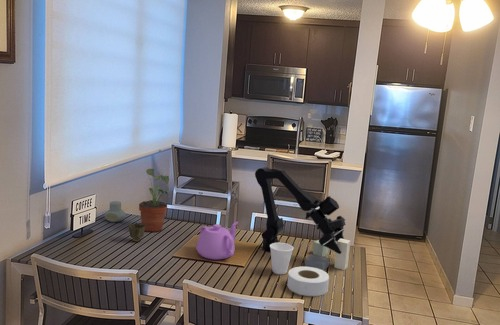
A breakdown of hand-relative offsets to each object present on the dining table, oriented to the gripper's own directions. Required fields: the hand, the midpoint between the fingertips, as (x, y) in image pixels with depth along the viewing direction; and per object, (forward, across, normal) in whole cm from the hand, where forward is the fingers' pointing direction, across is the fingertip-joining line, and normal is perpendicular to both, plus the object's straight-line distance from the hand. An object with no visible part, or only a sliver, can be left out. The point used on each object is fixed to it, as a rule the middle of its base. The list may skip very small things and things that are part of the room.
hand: (343, 250), depth 193 cm
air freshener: (-80, -13, +90) cm, 121 cm away
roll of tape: (+2, -28, +10) cm, 30 cm away
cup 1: (-59, -30, +69) cm, 95 cm away
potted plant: (-63, -11, +73) cm, 96 cm away
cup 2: (-9, -22, +20) cm, 31 cm away
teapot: (-31, -20, +42) cm, 55 cm away
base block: (-1, -7, +12) cm, 14 cm away
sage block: (-4, +10, +15) cm, 18 cm away
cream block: (+5, 0, +6) cm, 8 cm away
